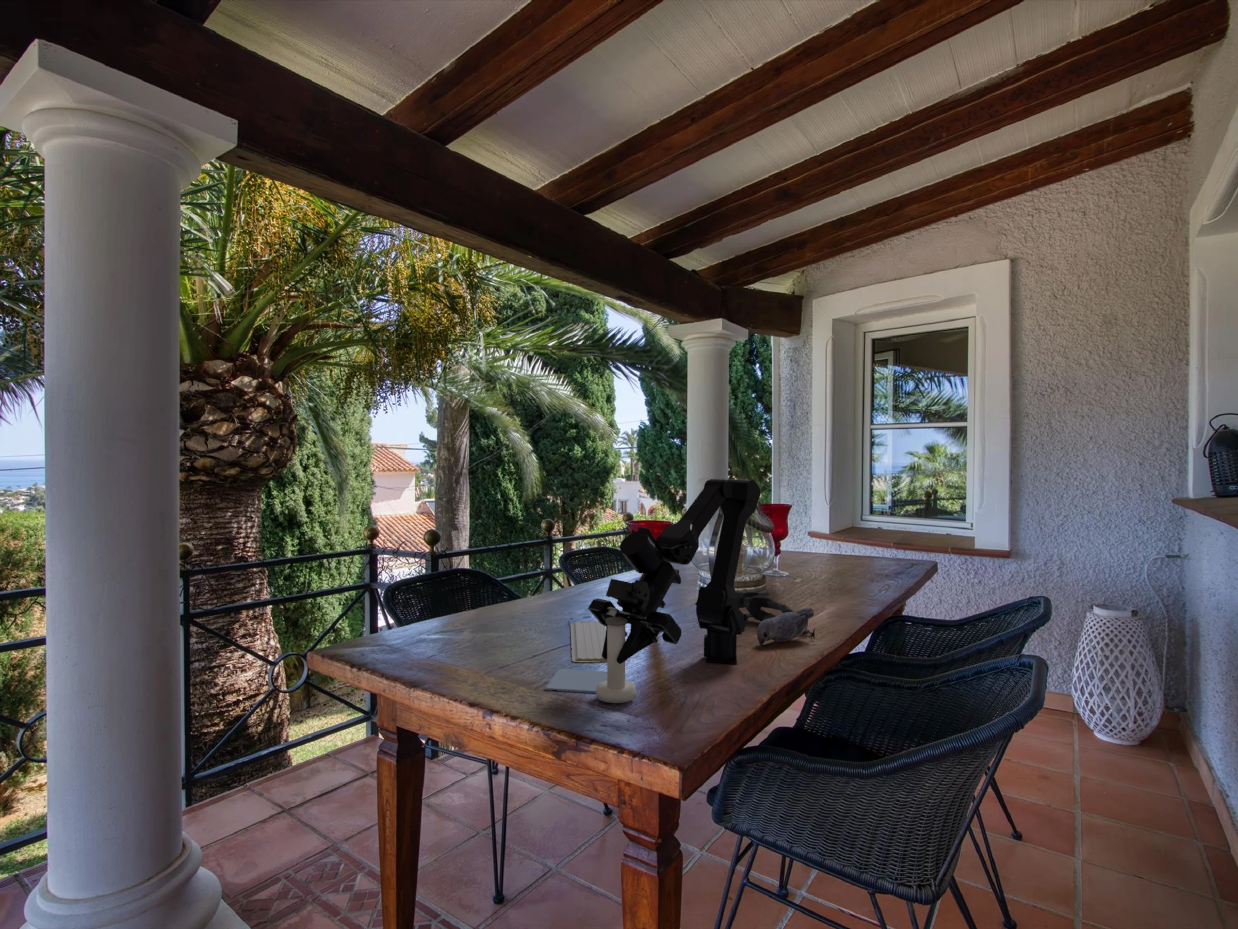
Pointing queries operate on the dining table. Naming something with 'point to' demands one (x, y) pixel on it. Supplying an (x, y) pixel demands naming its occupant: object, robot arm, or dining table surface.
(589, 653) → the baseboard
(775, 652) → the dining table surface
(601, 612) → the robot arm
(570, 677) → the felt pad
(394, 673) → the dining table surface
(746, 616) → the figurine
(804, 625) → the bird
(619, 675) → the paper towel holder
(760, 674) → the dining table surface
